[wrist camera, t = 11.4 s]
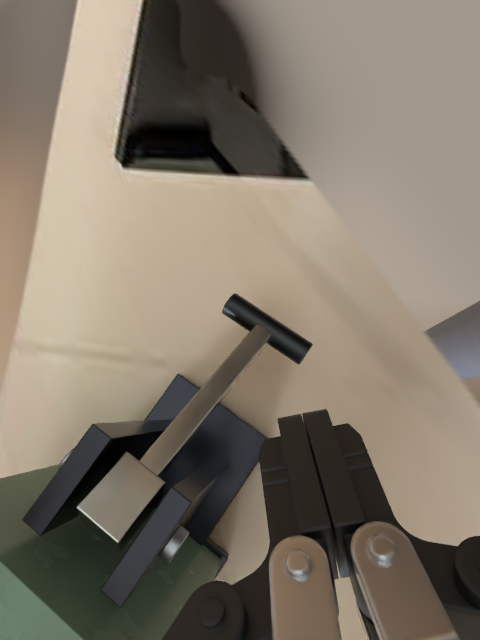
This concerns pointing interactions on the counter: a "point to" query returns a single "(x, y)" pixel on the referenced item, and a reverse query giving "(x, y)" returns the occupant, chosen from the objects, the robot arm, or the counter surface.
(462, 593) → the robot arm
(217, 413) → the lever bracket
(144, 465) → the lever
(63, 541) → the toaster
